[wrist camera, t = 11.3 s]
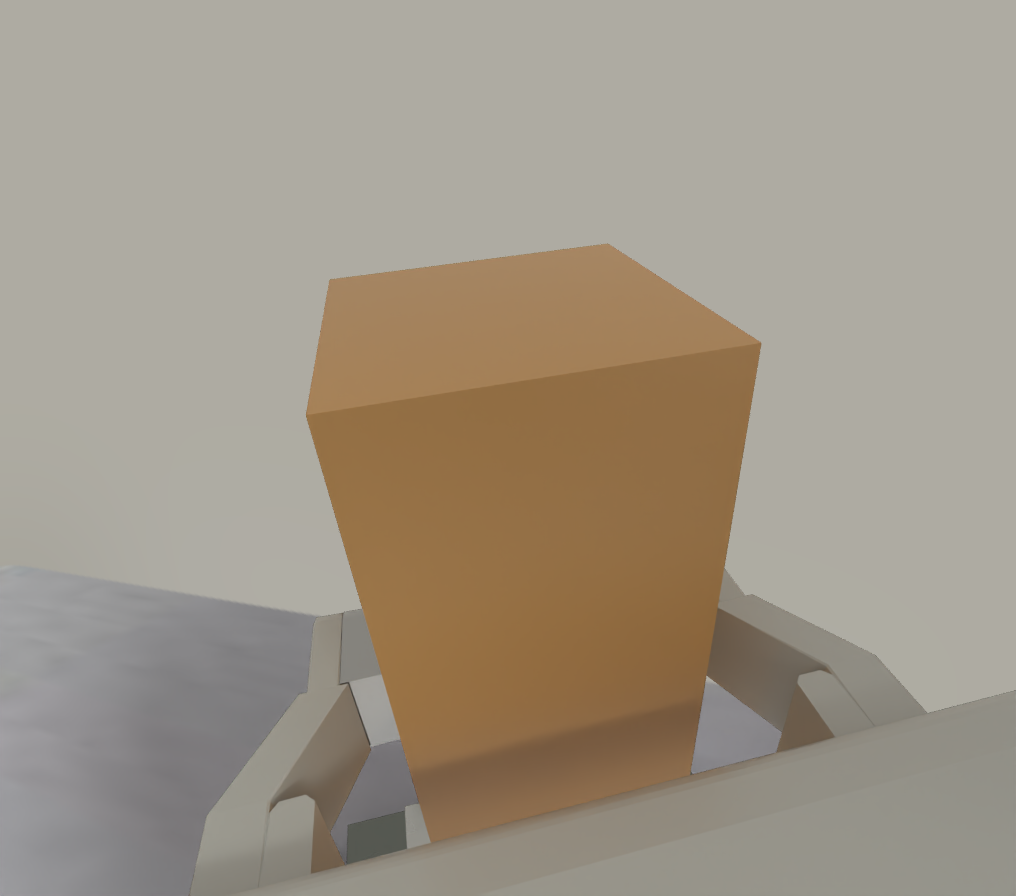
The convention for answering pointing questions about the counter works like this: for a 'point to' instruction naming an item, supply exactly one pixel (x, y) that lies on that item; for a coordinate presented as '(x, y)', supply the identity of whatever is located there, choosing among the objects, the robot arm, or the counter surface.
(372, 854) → the grey rail base plate
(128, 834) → the counter surface
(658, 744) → the tall orange pillar
